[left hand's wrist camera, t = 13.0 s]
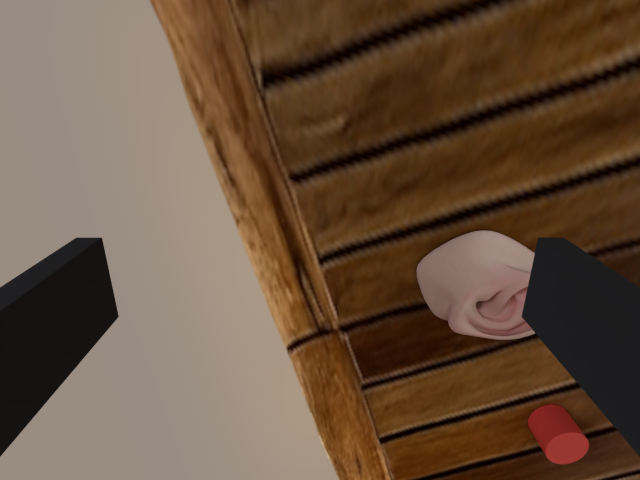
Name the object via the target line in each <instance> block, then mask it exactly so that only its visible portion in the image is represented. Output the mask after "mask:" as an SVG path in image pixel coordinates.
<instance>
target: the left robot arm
mask: <svg viewBox="0 0 640 480" xmlns="http://www.w3.org/2000/svg"><path fill="white" fill-rule="evenodd" d="M117 318H118V312H117V307H116V302H115V298H114V293H113V288H112V283H111V279H110V274H109V269H108V265H107V260H106V255H105V250H104V246H103V241H102V238H75V239H74V240H72V241H71V242H69V243H68V244H66V245H65V246H63V247H62V248H60V249H59V250H57V251H55V252H54V253H52V254H51V255H49V256H48V257H46V258H45V259H43V260H42V261H40V262H39V263H37V264H36V265H34V266H32V267H31V268H29V269H28V270H26V271H25V272H23V273H22V274H20V275H19V276H17V277H16V278H14V279H13V280H11V281H10V282H8V283H7V284H5V285H3V286H2V287H0V456H1V455H2V454H3V453H4V451H5V450H6V449H7V448H8V447H9V445H10V444H11V443H12V442H13V441H14V440H15V438H16V437H17V436H18V435H19V434H20V432H21V431H22V430H23V429H24V428H25V427H26V425H27V424H28V423H29V422H30V421H31V419H32V418H33V417H34V416H35V415H36V414H37V412H38V411H39V410H40V409H41V408H42V407H43V405H44V404H45V403H46V402H47V400H48V399H49V398H50V397H51V396H52V395H53V393H54V392H55V391H56V390H57V389H58V388H59V386H60V385H61V384H62V383H63V382H64V381H65V379H66V378H67V377H68V376H69V375H70V373H71V372H72V371H73V370H74V369H75V368H76V366H77V365H78V364H79V363H80V362H81V360H82V359H83V358H84V357H85V356H86V354H87V353H88V352H89V351H90V350H91V349H92V347H93V346H94V345H95V344H96V343H97V341H98V340H99V339H100V338H101V337H102V336H103V334H104V333H105V332H106V331H107V330H108V328H109V327H110V326H111V325H112V324H113V323H114V321H115V320H116V319H117ZM522 318H523V319H524V320H525V321H526V323H527V324H528V325H529V326H530V327H531V329H532V330H533V331H534V332H535V333H536V334H537V336H538V337H539V338H540V339H541V340H542V342H543V343H544V344H545V345H546V346H547V347H548V349H549V350H550V351H551V352H552V353H553V355H554V356H555V357H556V358H557V359H558V360H559V362H560V363H561V364H562V365H563V366H564V368H565V369H566V370H567V371H568V372H569V373H570V375H571V376H572V377H573V378H574V379H575V381H576V382H577V383H578V384H579V385H580V386H581V388H582V389H583V390H584V391H585V392H586V394H587V395H588V396H589V397H590V398H591V399H592V401H593V402H594V403H595V404H596V405H597V407H598V408H599V409H600V410H601V411H602V412H603V414H604V415H605V416H606V417H607V418H608V419H609V421H610V422H611V423H612V424H613V425H614V427H615V428H616V429H617V430H618V431H619V432H620V434H621V435H622V436H623V437H624V438H625V440H626V441H627V442H628V443H629V444H630V445H631V447H632V448H633V449H634V450H635V451H636V453H637V454H638V455H639V456H640V287H638V286H637V285H635V284H634V283H632V282H630V281H629V280H627V279H626V278H624V277H623V276H621V275H620V274H618V273H617V272H615V271H614V270H612V269H611V268H609V267H608V266H606V265H604V264H603V263H601V262H600V261H598V260H597V259H595V258H594V257H592V256H591V255H589V254H588V253H586V252H585V251H583V250H582V249H580V248H578V247H577V246H575V245H574V244H572V243H571V242H569V241H568V240H566V239H565V238H538V241H537V246H536V250H535V255H534V260H533V265H532V269H531V274H530V279H529V283H528V288H527V293H526V298H525V302H524V307H523V312H522Z"/></svg>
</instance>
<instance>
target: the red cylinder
mask: <svg viewBox="0 0 640 480" xmlns="http://www.w3.org/2000/svg"><path fill="white" fill-rule="evenodd" d="M528 426H529V428H530V430H531V432H532V433H533V435H534V437H535V438H536V440H537V441H538V443H539V445H540V446H541V448H542V450H543V451H544V453H545V455H546V456H547V458H548V459H549V460H550V461H552V462H554V463H557V464H569V463H572V462H575V461H577V460H579V459H580V458H582V457H583V456H584V455H585V454H586V452H587V451H588V448H589V442H588V439H587V438H586V437H585V435H584V434H583V433H582V431H581V430H580V429H579V427H578V426H577V425H576V423H575V422H574V421H573V419H572V418H571V417H570V415H569V414H568V413H567V411H566V410H565V409H564V408H563V407H561V406H559V405H554V404H550V405H544V406H541V407H539V408H537V409H536V410H534V411H533V412H532V413H531V415H530V416H529V419H528Z"/></svg>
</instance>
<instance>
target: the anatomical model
mask: <svg viewBox="0 0 640 480" xmlns="http://www.w3.org/2000/svg"><path fill="white" fill-rule="evenodd" d="M534 255H535V253H534V252H532V251H531V250H529V249H528V248H526V247H525V246H523V245H521V244H520V243H518V242H517V241H515V240H513V239H511V238H509V237H507V236H505V235H503V234H500V233H497V232H493V231H484V230H482V231H475V232H471V233H467V234H464V235H461V236H459V237H457V238H454V239H452V240H450V241H449V242H447V243H445V244H443V245H441V246H440V247H438V248H436V249H435V250H433V251H432V252H431V253H429V254H428V255H427V256H425V257H424V258H423V259H422V260H421V261H420V263H419V264H418V267H417V279H418V283H419V286H420V289H421V292H422V294H423V297H424V299H425V301H426V303H427V304H428V306H429V308H430V309H431V311H432V312H433V313H434V314H435V315H436V316H437V317H439V318H441V319H444V320H448V323H449V326H450V328H451V329H452V330H453V331H454V332H456V333H459V334H464V335H470V336H477V337H482V338H489V339H498V340H511V339H518V338H522V337H526V336H529V335H532V334H535V332H534V331H533V330H532V329H531V327H530V326H529V325H528V324H527V323H526V321H525V320H524V319H523V318H522V312H523V307H524V302H525V298H526V293H527V288H528V283H529V279H530V274H531V269H532V265H533V260H534Z"/></svg>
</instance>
